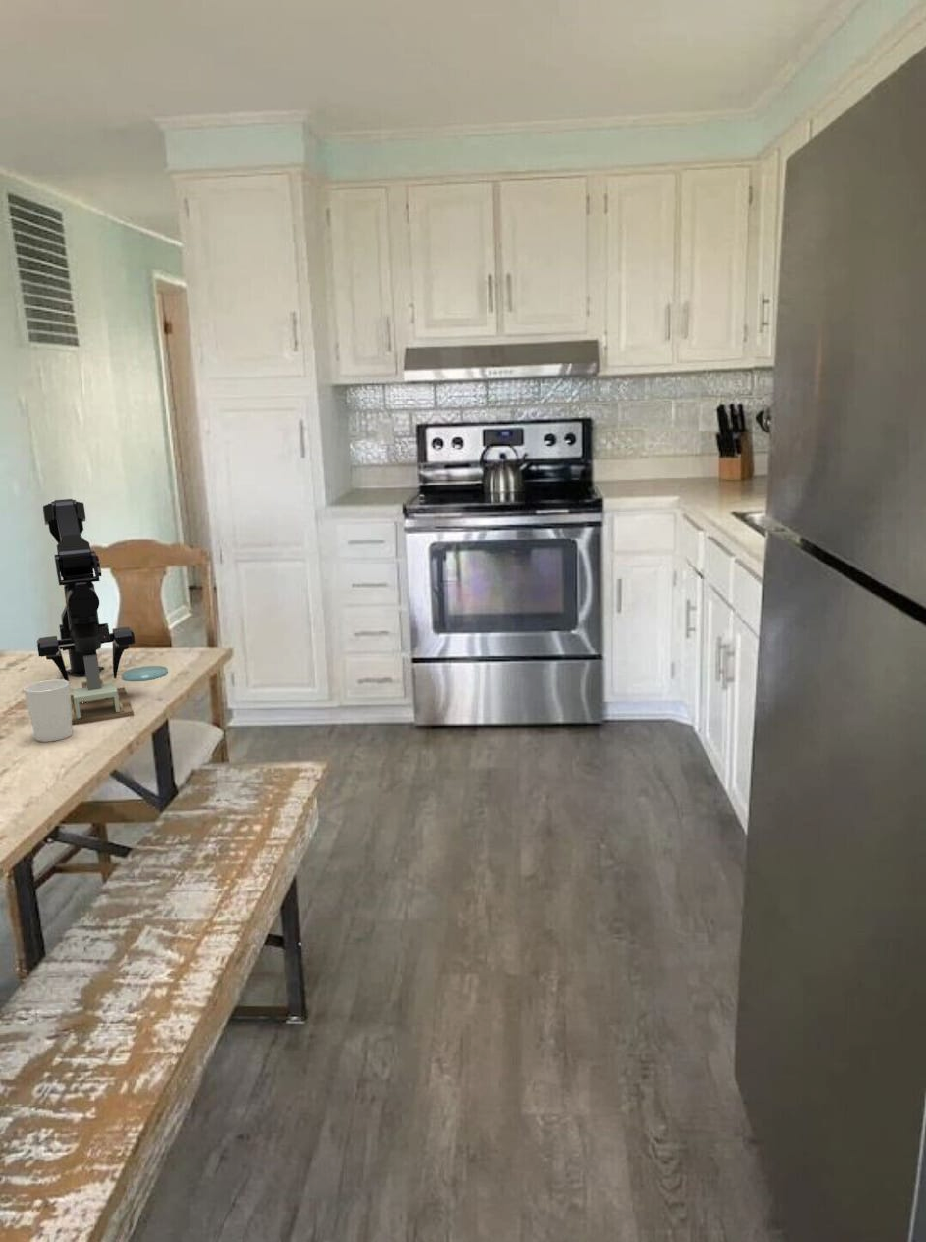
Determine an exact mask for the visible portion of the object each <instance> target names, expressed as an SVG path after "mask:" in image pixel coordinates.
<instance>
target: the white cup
mask: <svg viewBox="0 0 926 1242" xmlns="http://www.w3.org/2000/svg"><path fill="white" fill-rule="evenodd" d="M23 692H24V697H25V701H26V706H27V711H28V716H29V718H30V719H29V720H30V724H31V727H32V732H33V736H34V740H36V741H37V742H41V743H43V742H45V743H46V742H47V743H49V742H56V741H61V740H64V739H68V738H69V737H71V736H72V735H73V733H74V725H73V724H72V705H71V695H72V694H71V685H70V680H69V681H67V680H65V679H62V678H61V679H47V680H46V679H45V680H41V681H36V682H33V683H29V684H27V685H25V687H24V688H23Z"/></svg>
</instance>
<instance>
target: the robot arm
mask: <svg viewBox="0 0 926 1242" xmlns="http://www.w3.org/2000/svg"><path fill="white" fill-rule="evenodd" d="M42 515H43V520H44V525H45V526H48V531H49V533H50V535H51V536H52V537H53V539H54V540H55V541H56V542H57V544H56V551H57V554H54V564H55V569H56V573H57V574H56V575H57V580H58V585H59V586H64V587H63V590H64V596H65V597H64V598H65V604H66V605H65V606H64V609H63V611H62V613H61V616H60V618H61V624H59V633H60V635H59V636H60V639H58V636H57V635H52V636H45V637H39V638H38V640H36V647H37V653H38V657H45V659H46V660H52V661H53V663H54V664H55V665H56V666H57V668H58V670H59V671H60V673H61V676H62V677H63V680H67V681H69V682H70V680H69V679H70V678H69V675H72V676H73V675H74V676H78V677H82V676H86V674H85V667H84V660H83V656H86V655H93V654H96V655H97V656H98V654H97V650H100V649H101V648H102V644H107V643H108V644H109V643H112V675H113V679H116V678H117V676H118V671H119V666H120V661H121V659H122V655H123V653H124V651H125V650H127V649H130V645H135V644H136V638H135V636H136V635H135V632H134V630H133V628H132V627H130V626H123V627H122V626H121V627H114V628H112V632H111V633H110V630H109V629H110V628H109V623H108V622H105V623H100V620H99V614H98V609H99V606H100V599H99V596H98V595H97V593H96V591H95V584H94V582H100V577H102V569H101V563H100V559H99V556H98V555H97V554H96V552H95V550H92V549H91V546H90V545H91V544H90V542H89V541H88V540H87V539H84V538H82V537H83V536H82V534H83V531H84V527H83V523H84V522H86V513H85V506H84V503H83V502H81V501H77V499H73V498H66V499H55V500H54V501H51V502H50V503H47V504H45V505H43V506H42ZM62 651H68V656H69V665H70V669H67V668H66V667H67V666H66V664H65V660H64V657H63V653H62ZM97 660H98V661H99V659H98V658H97ZM98 667H99V672H101V671H104V670H105V666H104V667H103V666H99V665H98Z"/></svg>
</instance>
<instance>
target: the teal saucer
mask: <svg viewBox="0 0 926 1242" xmlns="http://www.w3.org/2000/svg"><path fill="white" fill-rule="evenodd" d="M168 674H169V671H168V667H166V666H161V665H147V666H140V667H135V668H131V669H128V670H125V671H124V672H122V673H121V677H122V680H124V681H127V682H143V681H144V682H147V681H150V680H157V679H159V677H160V678H163V677H165V676H166V675H168ZM162 676H163V677H162ZM156 678H157V679H156Z"/></svg>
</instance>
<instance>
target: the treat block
mask: <svg viewBox="0 0 926 1242" xmlns="http://www.w3.org/2000/svg"><path fill="white" fill-rule="evenodd" d="M100 682H101V685H104V682H103V679H101V678H100ZM85 687H87V682H86V680H85V681H81V688H85ZM103 699H105V698H103ZM103 699H96V700H90V701H97V700H103ZM90 701H84V702H90Z"/></svg>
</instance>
